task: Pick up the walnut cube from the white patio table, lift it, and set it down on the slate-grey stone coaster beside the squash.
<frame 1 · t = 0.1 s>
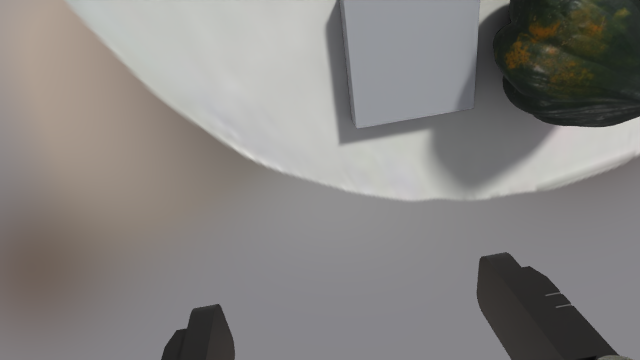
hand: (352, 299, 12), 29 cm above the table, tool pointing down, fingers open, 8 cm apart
stone coaster: (405, 52, 37), on the table
squash: (547, 35, 38), on the table
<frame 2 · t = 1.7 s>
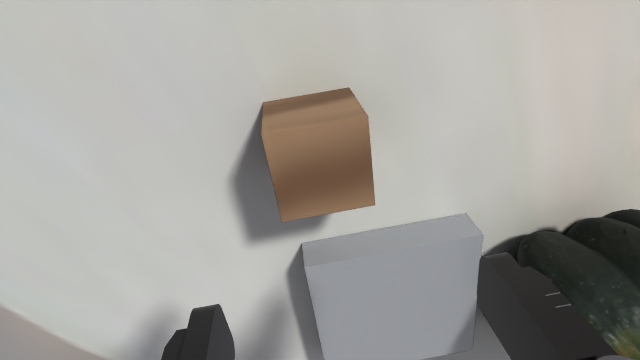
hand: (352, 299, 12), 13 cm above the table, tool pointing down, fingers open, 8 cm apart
stone coaster: (388, 288, 30), on the table
walnut cube: (312, 134, 23), on the table
squash: (563, 259, 31), on the table
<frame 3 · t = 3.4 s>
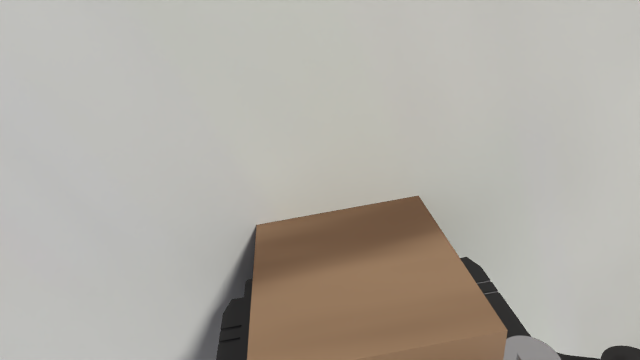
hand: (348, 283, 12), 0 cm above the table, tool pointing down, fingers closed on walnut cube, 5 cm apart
walnut cube: (346, 271, 13), on the table, touching gripper
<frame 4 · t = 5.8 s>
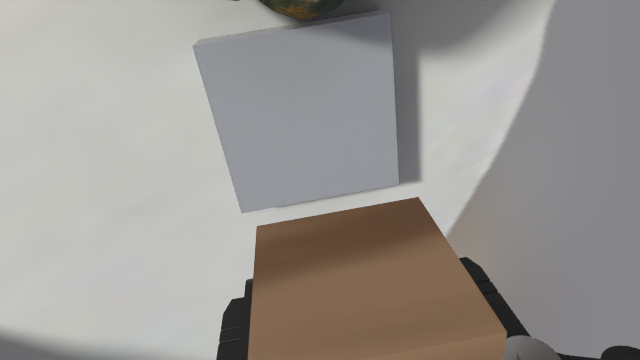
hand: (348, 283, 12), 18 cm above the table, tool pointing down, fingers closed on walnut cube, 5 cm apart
stone coaster: (305, 112, 27), on the table
walnut cube: (346, 272, 13), point 17 cm above the table, touching gripper
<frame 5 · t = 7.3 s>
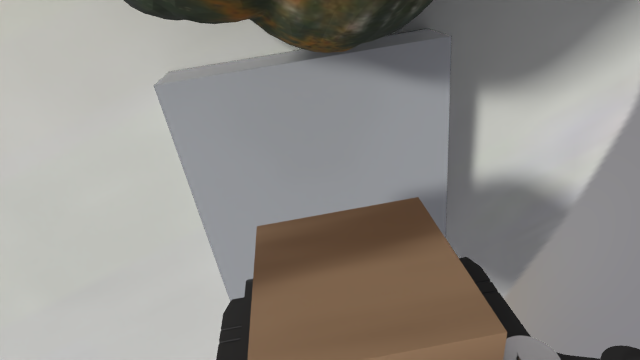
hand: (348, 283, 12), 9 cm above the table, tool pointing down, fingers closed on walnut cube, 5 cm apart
stone coaster: (318, 166, 20), on the table
walnut cube: (346, 272, 13), point 8 cm above the table, touching gripper
when the fingers open (4 cm above the table, at t = 8.6 s): walnut cube drops 1 cm, resting on stone coaster.
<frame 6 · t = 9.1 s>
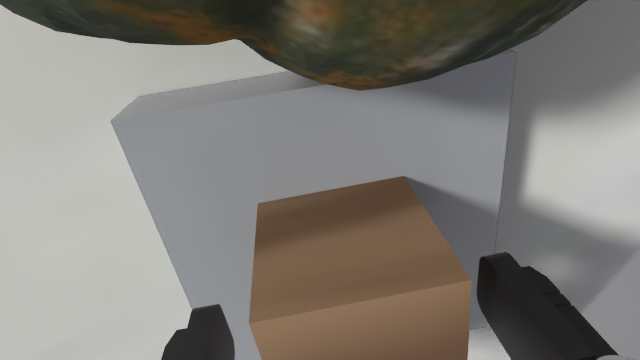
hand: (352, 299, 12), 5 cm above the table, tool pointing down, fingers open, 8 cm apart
stone coaster: (330, 209, 16), on the table
walnut cube: (340, 247, 14), point 2 cm above the table, touching stone coaster
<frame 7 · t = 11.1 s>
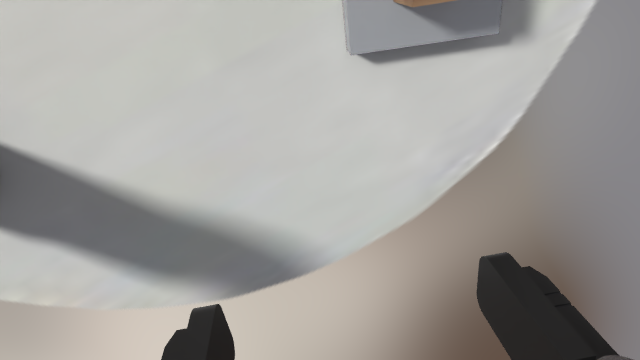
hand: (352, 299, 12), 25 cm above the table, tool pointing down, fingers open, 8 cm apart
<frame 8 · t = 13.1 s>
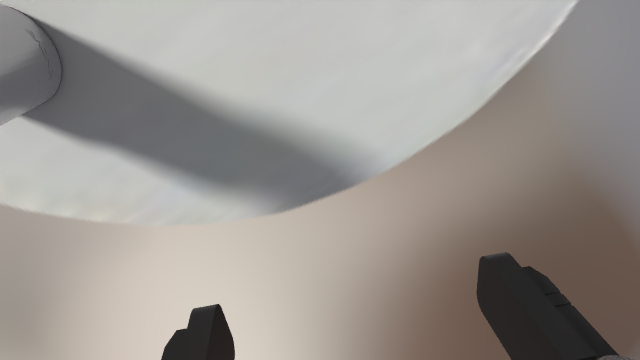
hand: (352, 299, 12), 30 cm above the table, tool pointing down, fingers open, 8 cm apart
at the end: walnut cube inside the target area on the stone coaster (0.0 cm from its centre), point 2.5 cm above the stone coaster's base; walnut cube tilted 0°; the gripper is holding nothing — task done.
